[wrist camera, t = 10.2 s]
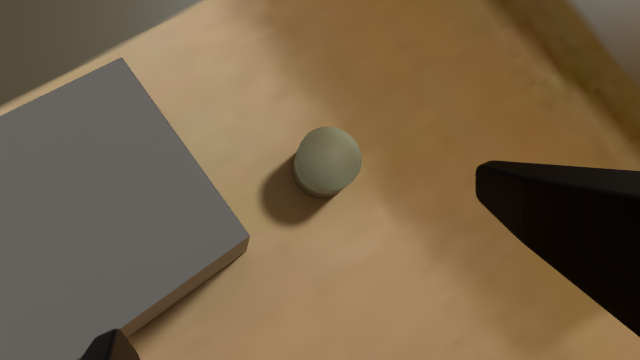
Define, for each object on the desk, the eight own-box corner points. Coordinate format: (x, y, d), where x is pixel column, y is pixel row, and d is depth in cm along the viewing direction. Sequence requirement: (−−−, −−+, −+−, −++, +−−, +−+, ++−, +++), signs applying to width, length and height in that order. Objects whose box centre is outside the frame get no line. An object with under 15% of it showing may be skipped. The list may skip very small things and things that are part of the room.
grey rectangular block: (246, 251, 20) (249, 235, 11) (131, 335, 18) (15, 403, 9) (175, 152, 20) (121, 57, 11) (55, 223, 18) (-129, 178, 9)
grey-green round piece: (326, 210, 21) (336, 202, 19) (279, 173, 21) (284, 160, 19) (359, 166, 22) (373, 154, 20) (315, 131, 22) (323, 114, 20)
